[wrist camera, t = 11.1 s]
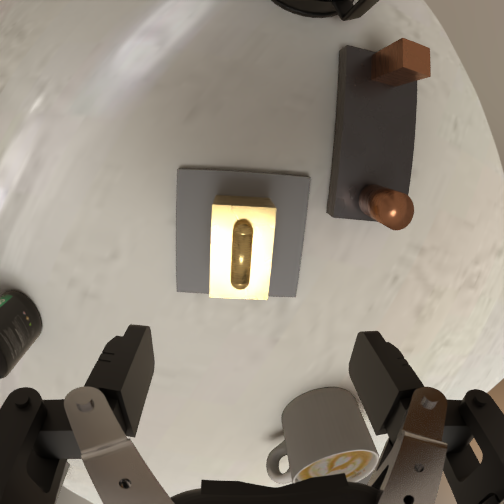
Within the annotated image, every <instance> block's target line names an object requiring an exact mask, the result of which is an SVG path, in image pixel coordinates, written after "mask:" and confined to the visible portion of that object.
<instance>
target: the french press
mask: <svg viewBox="0 0 504 504" xmlns="http://www.w3.org/2000/svg"><path fill="white" fill-rule="evenodd" d="M271 1H273V2H274V3H275V4H276V5H278V6H280V7H281V8H283V9H285V10H287V11H289V12H292V13H294V14H298V15H301V16H306V17H313V18H324V17H331V16H334V15H337V14H338V15H339V17H340V18H341V20H343V21H346V20H351V19H355V18H359V17H361V16H362V15H363V14H365V13H366V12H367V11H368V10H369V9H370V8H371V7H372V6H373V5H375V4H376V3H377V2H378V1H379V0H359V1H358V2H357V3H356V4H355V5H353V4H352V3H353V1H354V0H271Z"/></svg>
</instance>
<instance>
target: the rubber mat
mask: <svg viewBox="0 0 504 504" xmlns="http://www.w3.org/2000/svg"><path fill="white" fill-rule="evenodd" d="M310 179H311V178H310V177H306V176H296V175H285V174H273V173H260V172H245V171H228V170H207V169H177V200H176V279H177V292H189V293H206V294H210V252H211V221H212V204H213V201H214V199H215V196H216V195H227V196H246V197H262V198H270V200H271V201H272V202H273V204H274V205H275V207H276V220H275V231H274V241H273V252H272V262H271V272H270V282H269V292H268V296H273V297H296V292H297V285H298V278H299V271H300V264H301V256H302V248H303V241H304V232H305V224H306V216H307V207H308V198H309V188H310Z"/></svg>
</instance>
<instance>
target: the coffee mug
mask: <svg viewBox="0 0 504 504" xmlns="http://www.w3.org/2000/svg"><path fill="white" fill-rule="evenodd" d="M282 425H283V431H284V437H285V440H284V441H283V442H282V443H281V444H279V445H278V446H277V447H276V448H274V449H273V450H272V451H271V452H270V453H269V456H268V458H267V464H266V467H267V473H268V475H269V477H270V478H271V479H272V480H273V481H274V482H276V483H279V484H286V483H290V482H292V483H296V482H299V481H302V480H306V479H309V478H312V477H319V476H327V475H334V474H341V473H345V475H346V479H347V481H349V482H358V481H360V480H362V479H363V478H365V477H366V476H367V475H369V474H370V473H371V472H372V471H373V470H374V469H375V468H376V465H377V463H378V461H379V455H378V452H377V450H376V447H375V445H374V443H373V440H372V438H371V435H370V433H369V431H368V428H367V426H366V424H365V421H364V419H363V417H362V414H361V412H360V410H359V407H358V405H357V403H356V400H355V398H354V396H353V395H352V394H351V393H350V392H348V391H347V390H344V389H341V388H336V387H327V388H320V389H315V390H312V391H309V392H306V393H304V394H302V395H300V396H299V397H297V398H295V399H294V400H293V401H292V402H291V403H289V404H288V405H287V407H286V408H285V410H284V411H283V414H282ZM285 455H288V460H289V469H288V470H287V472H285V473H284V474H282V473H281V472H280V471H279V461H280V459H281V458H282V457H283V456H285Z"/></svg>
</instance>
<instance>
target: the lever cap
mask: <svg viewBox="0 0 504 504" xmlns="http://www.w3.org/2000/svg"><path fill="white" fill-rule="evenodd" d="M275 220H276V207H275V205H274V204H273V202H272V201H271V200H270V198H262V197H246V196H227V195H216V196H215V199H214V201H213V204H212V221H211V252H210V297H215V298H237V299H263V300H268V292H269V282H270V272H271V262H272V252H273V241H274V231H275Z"/></svg>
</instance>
